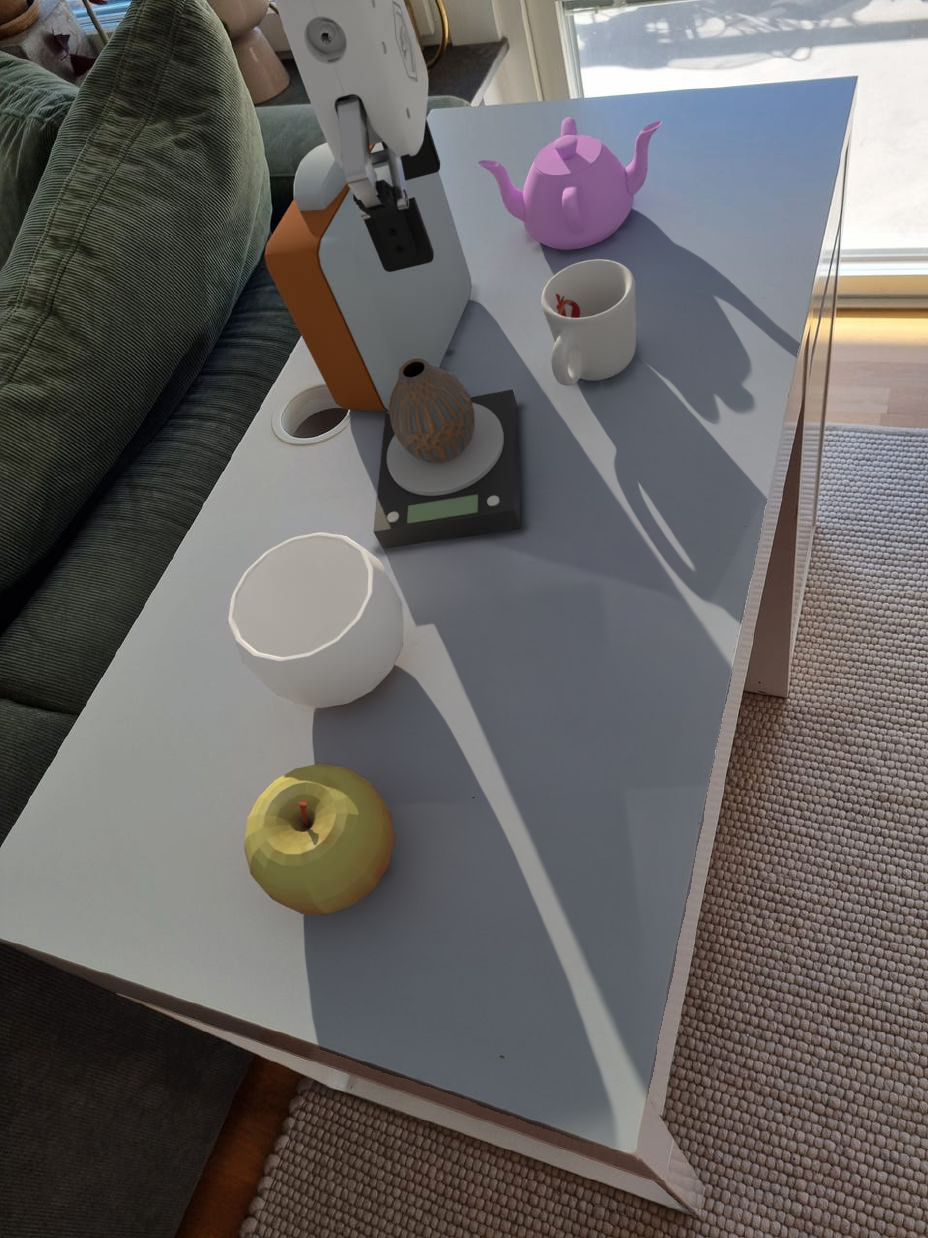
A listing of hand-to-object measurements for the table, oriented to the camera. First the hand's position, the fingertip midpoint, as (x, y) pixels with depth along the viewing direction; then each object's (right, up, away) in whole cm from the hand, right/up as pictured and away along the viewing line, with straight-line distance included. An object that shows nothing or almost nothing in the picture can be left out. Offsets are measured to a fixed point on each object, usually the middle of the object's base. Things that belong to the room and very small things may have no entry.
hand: (414, 217), depth 60 cm
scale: (+2, -13, +23) cm, 26 cm away
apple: (-5, -42, +5) cm, 43 cm away
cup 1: (-6, -29, +14) cm, 33 cm away
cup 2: (+15, -3, +25) cm, 30 cm away
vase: (+2, -11, +21) cm, 24 cm away
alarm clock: (-2, +1, +34) cm, 34 cm away
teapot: (+16, +16, +38) cm, 44 cm away
